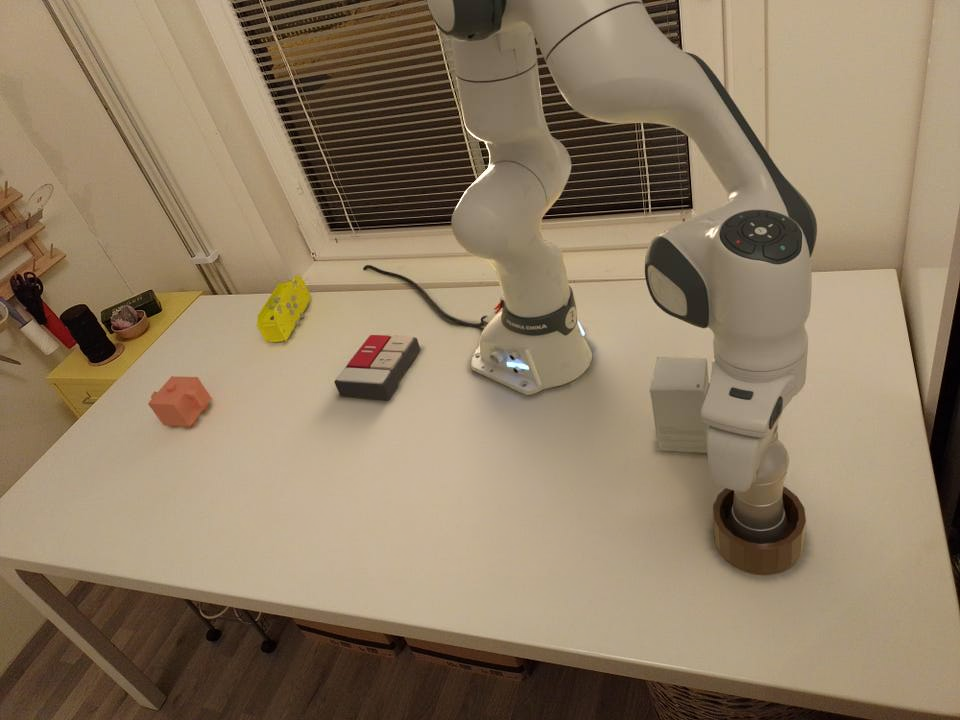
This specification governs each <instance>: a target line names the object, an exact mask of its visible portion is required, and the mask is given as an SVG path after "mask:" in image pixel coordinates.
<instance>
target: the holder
mask: <svg viewBox="0 0 960 720" xmlns="http://www.w3.org/2000/svg"><path fill="white" fill-rule="evenodd" d="M782 498H783V507H784V511H785V514H786V519H787V528H786V531H785V534H784V536H783V538H782V539H781V540H780V541H778V542H776V543H766V544H757V543H752V542H747V541H745V540H743V539H741V538H738V537H736V536H735V535H734V533H733V530H732V527H731V524H730V513H731V509H732V506H733V501H734V490H730V489H727V488H724V489H722V490H721V492H719V493H718V494H717V496H716V498H715V500H714V503H713V505H712V513H713V515H712V519H713V536H714V544H715V546H716V549H717V551H718V553H719V554H720V555H721V557H722V558H723V559H724V560H725V561H726V562H727V563H728V564H729V565H731V566H733V568H736V569H737V570H739V571H742V572H744V573H746V574H747V573H748V574H751V575H757V576H771V575H776V574H777V575H778V574H780V573H781V574H782V573H783V572H786V571H788V570H789V569H791V568H792V567H793V566H795V565H796V564H797V562H798V561H799V560H800V559H801V557H802V555H803V552H804V548H805V547H804V546H805V539H806V527H807V515H806V509H805V506H804V505H803V503H802V502H801V500H800V499H799V496H797V495H796V494H795V493H794V492H793V491H791V490H790V489H788V488H787V486H786V487H785V485H784V486H783V494H782Z"/></svg>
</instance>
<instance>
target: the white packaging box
mask: <svg viewBox="0 0 960 720" xmlns="http://www.w3.org/2000/svg"><path fill="white" fill-rule="evenodd" d="M709 383H710V380H709V366H708V358H707V356H686V357H685V356H656V359H655V364H654V368H653V374H652V378H651V383H650V387H649V394H650V399H651V405H652V414H653V420H654V427H655V428H654V429H655V435H656V441H657V447H658V451H665V452H681V453H699V454H707V431H708V426H709V425H707V424H704V423H702V420H701V409H702V405H703V402H704V398H705V395H706V392H707V389H708V385H709Z"/></svg>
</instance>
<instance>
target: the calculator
mask: <svg viewBox="0 0 960 720" xmlns="http://www.w3.org/2000/svg"><path fill="white" fill-rule="evenodd" d="M421 350H422V349H421V346H420V343H419V341H418V338H417V337H415V336H411V335H392V336H391V335H387V334H385V335H383V334H370V335H369V336H368V337H367V338H366V340H365V341H364V342H363V343H362V345H361V346H360V347H359V349H358V350H357V351H356V353H354V355H353V356H352V358H351V359H350V360H349V361H348V362H347V364H346V366H345V368H344V369H343V370H342V372H341V373H340V374H339V375H338V376H337V377H336V379H335V380H334V381H333V382H334V385H335V387H336V389H337V391H338V394H339V396H340V397H342V398H354V399H365V400H378V401H389V400H390V399H391V398H392V397H393V396H394V394H395V392H396V390H397V389H398V388H399V387H398V386H399V382H400V381H401V380H402V378H403V377H404V375H405V374H406V372H407V371H408V369H409V368H410V366H411V365H412V363H413V362H414V360H415V359H416V357H417V356H418V355H419V353H420V351H421Z"/></svg>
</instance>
